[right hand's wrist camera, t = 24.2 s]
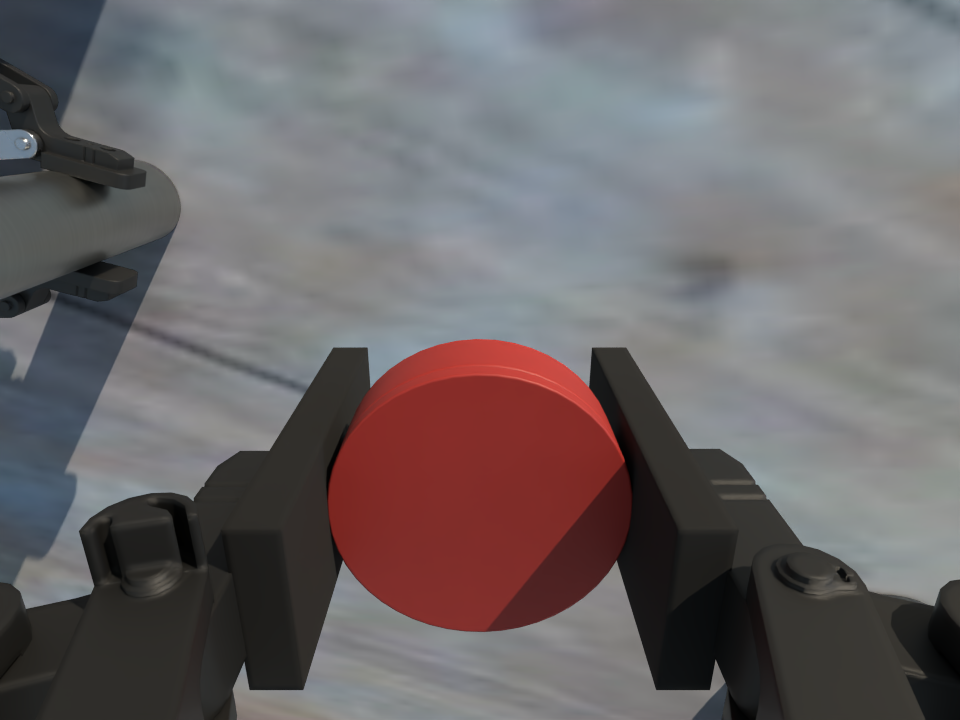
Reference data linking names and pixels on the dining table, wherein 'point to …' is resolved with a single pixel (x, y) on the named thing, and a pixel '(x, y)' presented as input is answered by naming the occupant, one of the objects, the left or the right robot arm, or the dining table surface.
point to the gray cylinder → (76, 223)
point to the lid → (479, 488)
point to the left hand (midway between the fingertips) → (132, 232)
